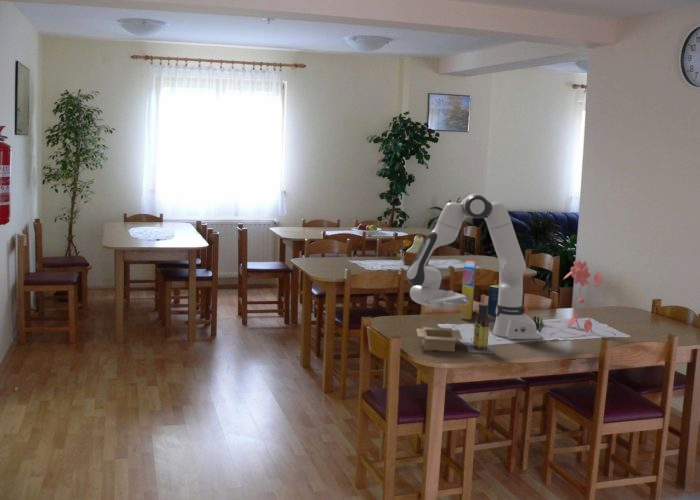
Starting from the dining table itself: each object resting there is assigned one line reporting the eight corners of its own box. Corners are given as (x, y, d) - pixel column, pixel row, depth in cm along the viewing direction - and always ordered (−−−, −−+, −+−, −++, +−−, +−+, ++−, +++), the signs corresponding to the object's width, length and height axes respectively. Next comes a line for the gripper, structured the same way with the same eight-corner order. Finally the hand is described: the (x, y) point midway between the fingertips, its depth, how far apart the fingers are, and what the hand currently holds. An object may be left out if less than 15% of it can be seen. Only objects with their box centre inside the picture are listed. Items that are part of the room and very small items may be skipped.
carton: (457, 341, 336) (458, 328, 335) (462, 353, 317) (463, 340, 316) (415, 339, 336) (416, 326, 335) (417, 351, 318) (418, 338, 317)
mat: (490, 346, 329) (490, 345, 329) (494, 354, 319) (494, 352, 318) (465, 345, 330) (465, 344, 330) (468, 352, 319) (468, 351, 319)
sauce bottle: (471, 346, 327) (474, 301, 324) (485, 346, 328) (488, 302, 325) (475, 350, 321) (477, 305, 318) (489, 350, 321) (492, 305, 318)
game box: (471, 320, 377) (474, 267, 373) (460, 319, 378) (463, 266, 374) (472, 311, 397) (476, 260, 393) (462, 310, 398) (465, 260, 394)
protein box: (498, 312, 397) (500, 283, 395) (523, 318, 386) (525, 288, 383) (486, 314, 390) (488, 285, 388) (511, 320, 379) (513, 291, 376)
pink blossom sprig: (568, 322, 379) (573, 254, 373) (605, 335, 356) (611, 263, 350) (544, 325, 372) (548, 256, 367) (581, 339, 350) (586, 266, 344)
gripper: (421, 294, 336) (443, 300, 325) (453, 289, 349) (475, 295, 338) (421, 308, 337) (443, 314, 326) (452, 303, 350) (475, 308, 339)
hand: (460, 304), depth 332 cm, fingers open, 8 cm apart
